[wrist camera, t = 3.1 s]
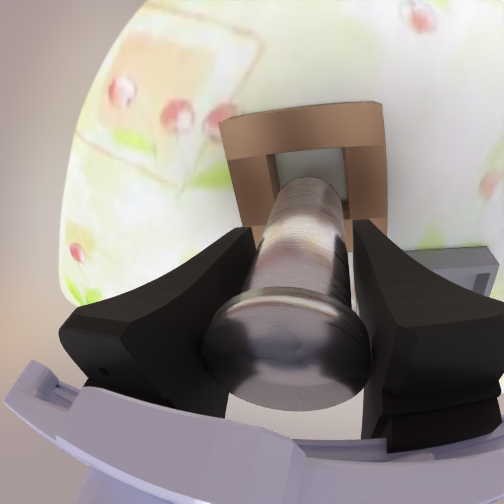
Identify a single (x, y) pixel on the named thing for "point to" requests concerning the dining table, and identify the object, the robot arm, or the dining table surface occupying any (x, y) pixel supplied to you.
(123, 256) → the dining table surface
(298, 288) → the steel pin
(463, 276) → the tray
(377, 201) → the holder block
